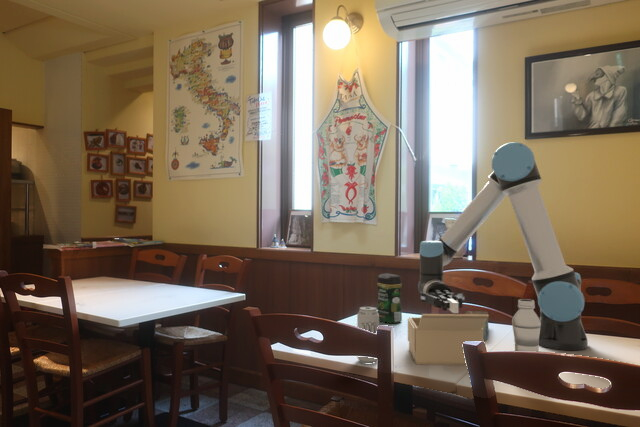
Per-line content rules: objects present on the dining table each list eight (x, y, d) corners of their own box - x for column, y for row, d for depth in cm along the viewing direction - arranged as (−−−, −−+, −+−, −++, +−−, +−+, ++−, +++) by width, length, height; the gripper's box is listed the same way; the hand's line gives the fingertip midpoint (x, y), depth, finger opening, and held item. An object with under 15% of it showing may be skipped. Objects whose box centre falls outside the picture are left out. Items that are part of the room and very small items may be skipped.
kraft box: (470, 350, 145) (470, 317, 145) (484, 365, 131) (484, 328, 131) (407, 349, 146) (407, 317, 146) (414, 364, 132) (414, 328, 132)
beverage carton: (461, 339, 160) (461, 319, 160) (465, 327, 178) (465, 309, 178) (487, 341, 157) (486, 320, 157) (488, 328, 175) (488, 310, 175)
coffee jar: (373, 320, 189) (373, 273, 189) (390, 318, 193) (390, 271, 193) (388, 324, 180) (388, 275, 181) (405, 322, 184) (405, 274, 184)
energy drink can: (359, 365, 131) (359, 310, 131) (355, 359, 137) (355, 306, 137) (381, 364, 132) (381, 310, 132) (376, 358, 138) (376, 306, 138)
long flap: (488, 314, 124) (488, 316, 123) (480, 328, 131) (480, 330, 131) (422, 313, 124) (422, 315, 124) (417, 328, 132) (418, 329, 131)
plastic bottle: (547, 386, 114) (546, 302, 115) (520, 387, 114) (519, 302, 114) (533, 377, 121) (532, 297, 121) (507, 378, 120) (507, 298, 121)
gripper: (458, 305, 147) (481, 322, 123) (416, 305, 148) (430, 322, 124) (458, 281, 147) (481, 293, 123) (416, 281, 148) (429, 293, 124)
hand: (455, 307), depth 124 cm, fingers closed
